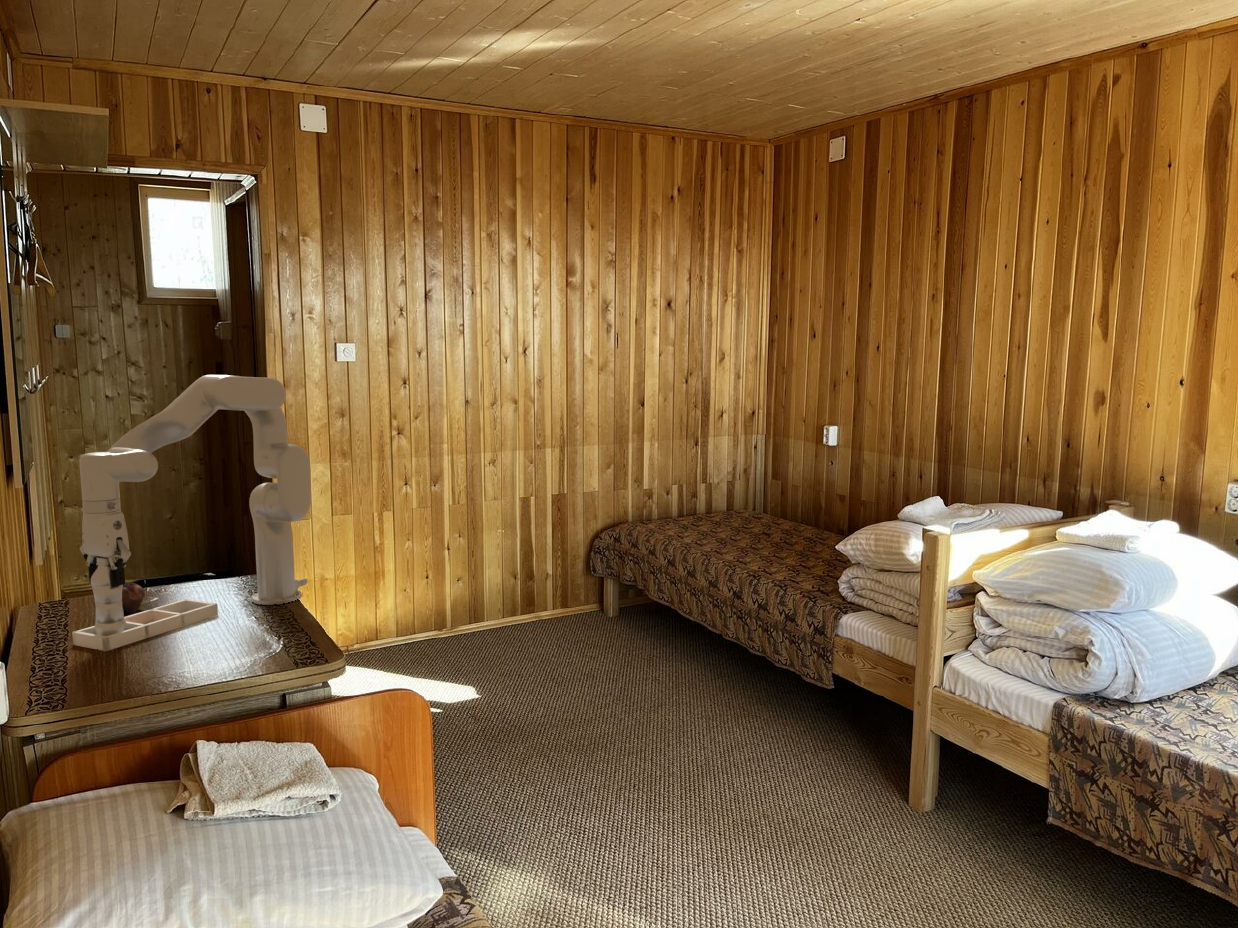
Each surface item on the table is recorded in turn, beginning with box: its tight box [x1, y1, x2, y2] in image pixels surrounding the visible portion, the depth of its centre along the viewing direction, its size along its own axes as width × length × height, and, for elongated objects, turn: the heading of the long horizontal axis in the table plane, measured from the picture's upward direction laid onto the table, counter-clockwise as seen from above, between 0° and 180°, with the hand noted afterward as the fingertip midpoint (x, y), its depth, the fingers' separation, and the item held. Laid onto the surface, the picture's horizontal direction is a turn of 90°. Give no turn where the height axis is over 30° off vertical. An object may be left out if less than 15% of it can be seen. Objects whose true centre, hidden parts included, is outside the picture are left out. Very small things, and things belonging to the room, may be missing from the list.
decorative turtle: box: [122, 581, 146, 615], centre depth 237 cm, size 10×15×8 cm, turn 27°
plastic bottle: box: [90, 556, 127, 636], centre depth 212 cm, size 6×7×20 cm
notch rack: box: [71, 598, 219, 652], centre depth 222 cm, size 31×11×3 cm, turn 156°
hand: (107, 583), depth 212 cm, fingers closed on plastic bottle, 6 cm apart
